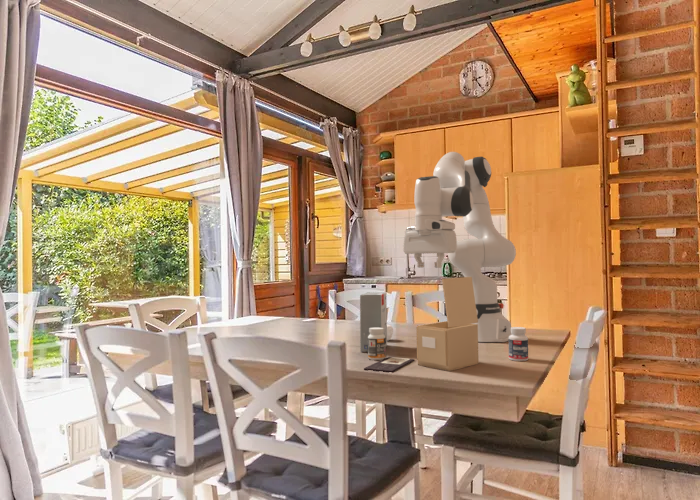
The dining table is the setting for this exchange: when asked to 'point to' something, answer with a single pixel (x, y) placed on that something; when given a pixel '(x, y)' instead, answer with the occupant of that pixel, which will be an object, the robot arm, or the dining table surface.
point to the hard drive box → (372, 316)
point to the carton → (447, 345)
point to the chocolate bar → (389, 364)
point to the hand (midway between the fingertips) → (429, 267)
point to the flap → (459, 301)
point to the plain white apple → (389, 332)
